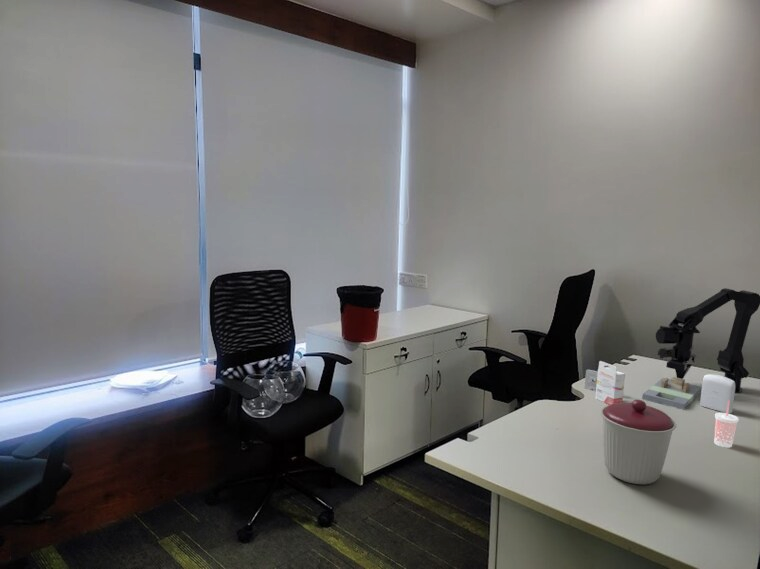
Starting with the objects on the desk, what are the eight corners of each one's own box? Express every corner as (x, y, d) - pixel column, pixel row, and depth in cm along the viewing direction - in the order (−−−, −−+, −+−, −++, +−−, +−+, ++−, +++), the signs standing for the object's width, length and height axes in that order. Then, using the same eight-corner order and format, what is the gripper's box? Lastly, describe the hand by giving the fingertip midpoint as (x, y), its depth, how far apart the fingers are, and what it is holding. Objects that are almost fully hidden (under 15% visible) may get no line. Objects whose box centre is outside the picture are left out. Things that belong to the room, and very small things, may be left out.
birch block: (672, 384, 211) (673, 376, 210) (684, 386, 208) (685, 379, 208) (670, 386, 208) (671, 379, 208) (681, 389, 205) (682, 381, 205)
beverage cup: (738, 449, 160) (744, 405, 158) (716, 447, 161) (721, 403, 159) (729, 440, 166) (735, 398, 164) (708, 438, 167) (713, 396, 165)
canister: (606, 452, 156) (613, 383, 153) (675, 473, 145) (685, 399, 142) (585, 476, 143) (593, 401, 139) (660, 501, 131) (670, 420, 128)
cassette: (583, 388, 209) (585, 369, 208) (585, 387, 211) (587, 368, 209) (615, 396, 202) (617, 377, 200) (617, 395, 203) (619, 375, 202)
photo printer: (697, 405, 194) (701, 373, 192) (702, 403, 197) (706, 371, 195) (729, 415, 187) (734, 381, 185) (733, 412, 189) (738, 378, 187)
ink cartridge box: (622, 404, 194) (627, 365, 191) (613, 406, 191) (617, 367, 189) (604, 396, 201) (607, 358, 199) (594, 398, 199) (598, 360, 197)
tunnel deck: (662, 382, 219) (663, 371, 218) (701, 391, 209) (702, 380, 209) (642, 398, 200) (643, 387, 199) (683, 409, 190) (685, 397, 190)
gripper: (668, 335, 220) (664, 371, 223) (654, 343, 206) (649, 382, 209) (699, 340, 212) (694, 378, 215) (686, 349, 199) (681, 389, 202)
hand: (679, 381), depth 210 cm, fingers closed
